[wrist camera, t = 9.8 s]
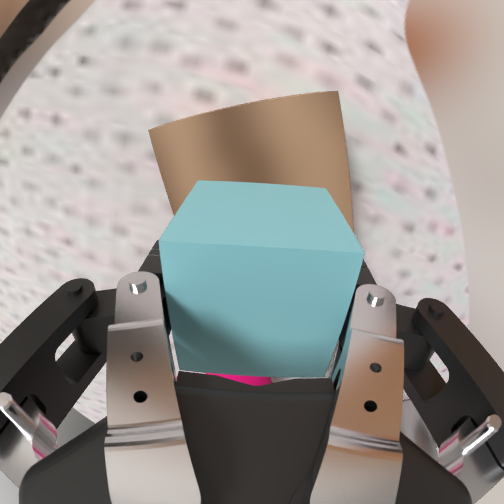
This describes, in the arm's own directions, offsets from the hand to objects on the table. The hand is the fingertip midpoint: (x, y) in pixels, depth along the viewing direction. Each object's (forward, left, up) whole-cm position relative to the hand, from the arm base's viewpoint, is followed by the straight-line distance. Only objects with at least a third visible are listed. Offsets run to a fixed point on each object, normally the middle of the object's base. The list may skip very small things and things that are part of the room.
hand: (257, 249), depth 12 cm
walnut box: (0, 0, -12) cm, 12 cm away
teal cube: (0, 0, -1) cm, 1 cm away
